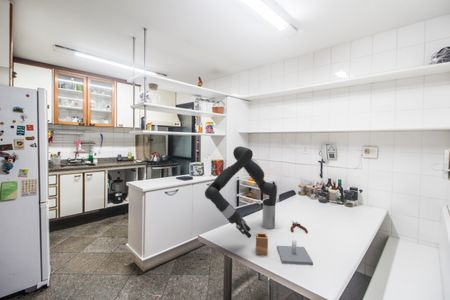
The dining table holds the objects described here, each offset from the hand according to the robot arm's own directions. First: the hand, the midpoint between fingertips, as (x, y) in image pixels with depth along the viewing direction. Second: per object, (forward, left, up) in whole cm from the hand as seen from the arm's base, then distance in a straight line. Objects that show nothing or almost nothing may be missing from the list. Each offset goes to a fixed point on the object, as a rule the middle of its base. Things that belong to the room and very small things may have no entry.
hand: (250, 233), depth 124 cm
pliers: (-37, +39, -12) cm, 55 cm away
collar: (0, +7, -11) cm, 13 cm away
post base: (+2, +25, -11) cm, 27 cm away
